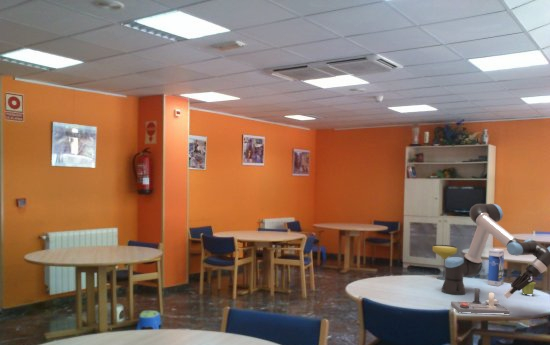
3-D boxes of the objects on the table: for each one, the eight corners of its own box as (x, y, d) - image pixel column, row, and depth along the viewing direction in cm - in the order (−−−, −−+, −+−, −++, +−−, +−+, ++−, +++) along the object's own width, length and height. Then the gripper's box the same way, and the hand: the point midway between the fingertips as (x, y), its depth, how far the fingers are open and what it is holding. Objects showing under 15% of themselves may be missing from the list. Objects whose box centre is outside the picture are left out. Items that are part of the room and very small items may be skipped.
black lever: (474, 304, 283) (474, 289, 283) (472, 302, 286) (472, 288, 286) (481, 304, 283) (481, 289, 283) (479, 303, 286) (479, 288, 286)
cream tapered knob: (488, 308, 274) (489, 293, 274) (486, 307, 277) (487, 292, 277) (495, 309, 273) (496, 293, 273) (493, 307, 276) (494, 292, 276)
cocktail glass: (460, 279, 367) (461, 247, 367) (449, 282, 354) (450, 249, 354) (438, 275, 380) (439, 244, 380) (427, 278, 367) (428, 245, 368)
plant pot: (530, 293, 327) (530, 280, 327) (538, 296, 318) (538, 284, 318) (517, 293, 327) (517, 280, 327) (524, 296, 317) (525, 283, 317)
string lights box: (498, 286, 346) (499, 251, 346) (487, 284, 351) (488, 249, 351) (503, 283, 356) (504, 249, 356) (492, 281, 361) (493, 248, 361)
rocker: (488, 304, 282) (487, 301, 282) (485, 302, 286) (485, 299, 286) (498, 302, 281) (498, 299, 281) (496, 301, 285) (495, 297, 285)
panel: (459, 313, 273) (459, 304, 273) (451, 305, 289) (451, 297, 289) (509, 315, 271) (509, 307, 271) (498, 307, 287) (498, 300, 287)
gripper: (546, 275, 266) (515, 304, 267) (534, 271, 279) (505, 298, 280) (536, 265, 267) (505, 294, 267) (525, 262, 280) (496, 289, 280)
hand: (505, 296), depth 274 cm, fingers closed
